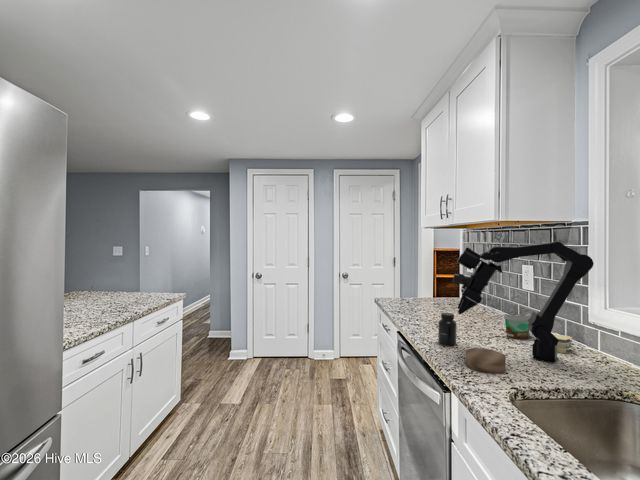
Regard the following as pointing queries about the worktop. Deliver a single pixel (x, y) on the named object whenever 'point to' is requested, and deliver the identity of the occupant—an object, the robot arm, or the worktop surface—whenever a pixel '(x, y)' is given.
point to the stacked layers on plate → (563, 343)
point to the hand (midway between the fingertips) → (458, 311)
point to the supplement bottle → (447, 330)
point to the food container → (517, 326)
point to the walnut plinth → (485, 360)
